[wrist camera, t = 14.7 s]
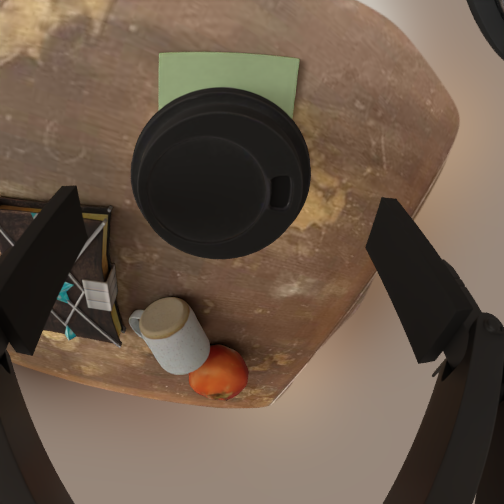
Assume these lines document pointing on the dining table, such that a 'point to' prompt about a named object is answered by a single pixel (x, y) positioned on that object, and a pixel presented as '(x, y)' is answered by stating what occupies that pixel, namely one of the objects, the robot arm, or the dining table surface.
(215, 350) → the tomato
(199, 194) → the coffee cup
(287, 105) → the sage mat
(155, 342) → the ceramic mug
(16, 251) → the robot arm
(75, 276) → the book
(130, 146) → the dining table surface
